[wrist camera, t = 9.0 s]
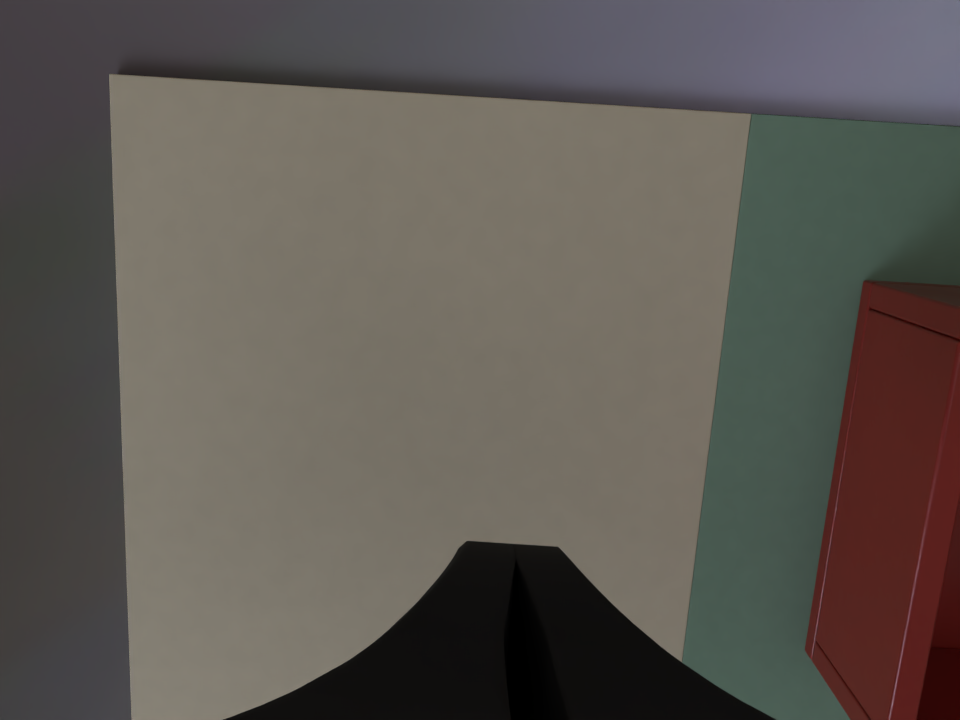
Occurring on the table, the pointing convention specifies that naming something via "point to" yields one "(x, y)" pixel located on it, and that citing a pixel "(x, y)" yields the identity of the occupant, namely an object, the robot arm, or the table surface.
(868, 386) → the pan
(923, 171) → the desk pad
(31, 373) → the table surface
